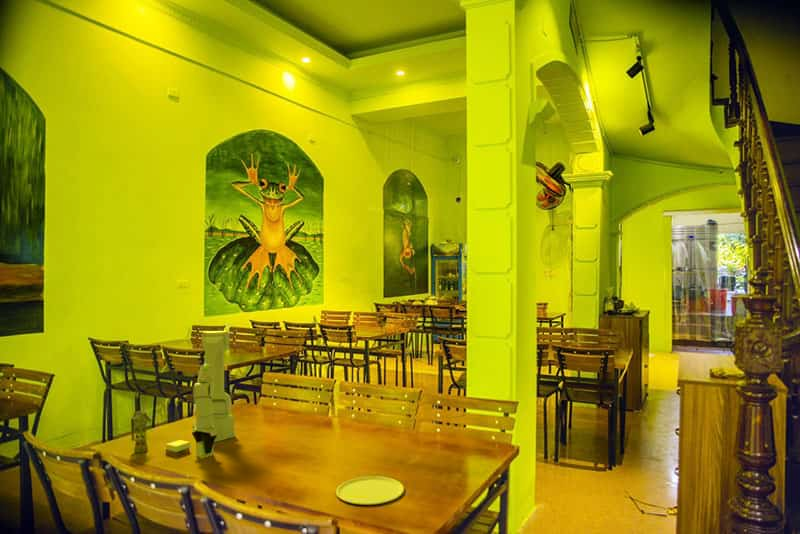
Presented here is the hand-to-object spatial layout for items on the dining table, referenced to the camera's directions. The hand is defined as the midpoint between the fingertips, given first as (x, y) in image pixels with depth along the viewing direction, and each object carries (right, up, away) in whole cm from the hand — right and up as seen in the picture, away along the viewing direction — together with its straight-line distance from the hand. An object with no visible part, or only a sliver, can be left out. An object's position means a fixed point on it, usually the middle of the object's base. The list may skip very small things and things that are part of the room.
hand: (204, 451), depth 202 cm
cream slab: (-11, 0, +4) cm, 12 cm away
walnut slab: (-12, -2, +4) cm, 12 cm away
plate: (+63, -1, -36) cm, 73 cm away
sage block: (0, -2, 0) cm, 2 cm away
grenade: (-27, -2, +7) cm, 28 cm away
